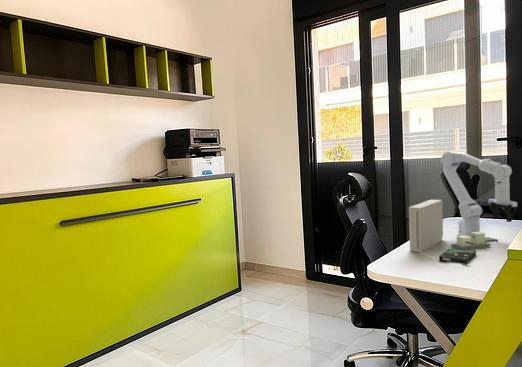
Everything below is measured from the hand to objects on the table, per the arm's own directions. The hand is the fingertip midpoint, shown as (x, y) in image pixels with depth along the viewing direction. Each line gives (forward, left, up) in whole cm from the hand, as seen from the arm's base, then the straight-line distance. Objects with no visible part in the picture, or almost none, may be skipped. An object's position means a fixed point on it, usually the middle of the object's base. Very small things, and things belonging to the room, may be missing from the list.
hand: (502, 220), depth 185 cm
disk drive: (+16, -37, -11) cm, 42 cm away
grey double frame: (+5, -21, -10) cm, 24 cm away
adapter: (+6, -25, -9) cm, 27 cm away
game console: (-7, -35, -10) cm, 37 cm away
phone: (-3, -8, -10) cm, 13 cm away
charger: (+5, -17, -9) cm, 20 cm away
